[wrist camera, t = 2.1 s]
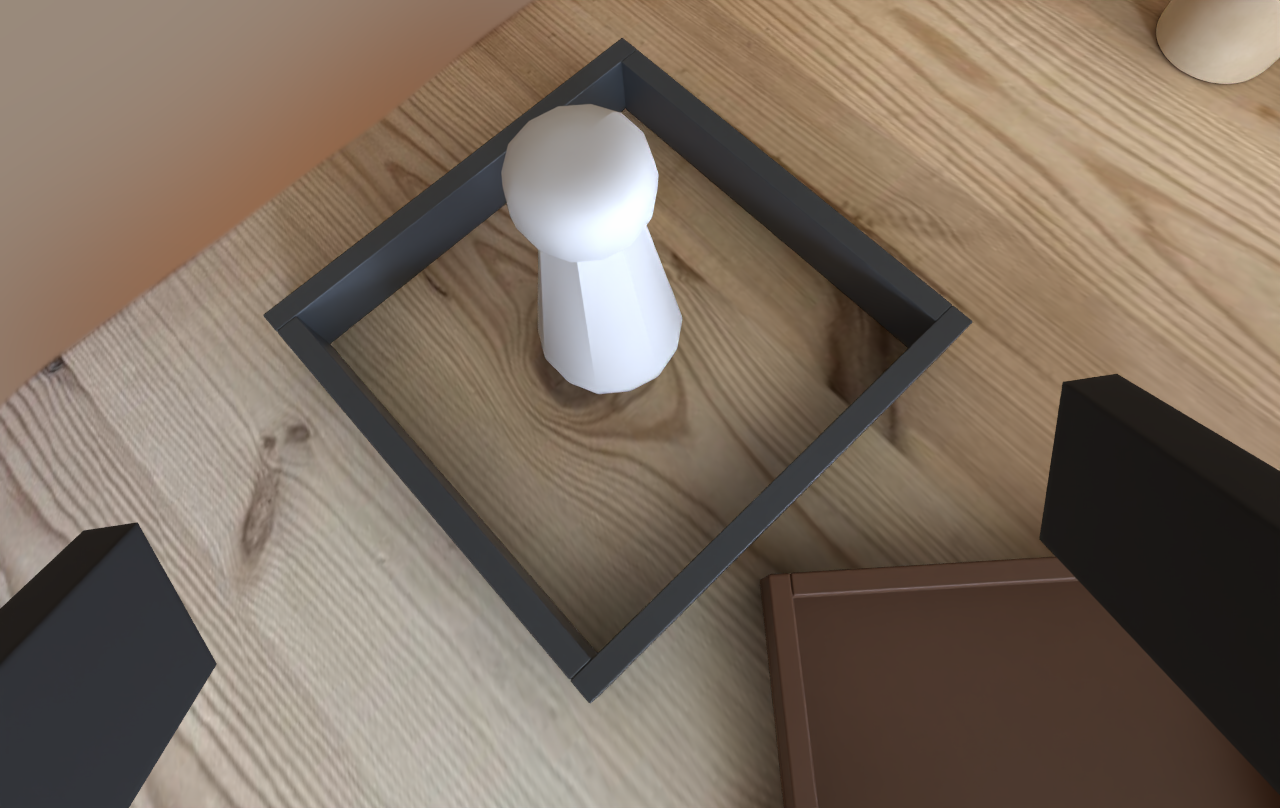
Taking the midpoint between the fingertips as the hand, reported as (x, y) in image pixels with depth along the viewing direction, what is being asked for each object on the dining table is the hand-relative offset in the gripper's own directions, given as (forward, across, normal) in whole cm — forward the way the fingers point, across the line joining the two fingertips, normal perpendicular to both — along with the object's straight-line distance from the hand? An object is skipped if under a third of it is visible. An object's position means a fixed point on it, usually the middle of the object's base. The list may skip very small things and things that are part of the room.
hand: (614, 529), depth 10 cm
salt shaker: (+20, 0, -5) cm, 21 cm away
